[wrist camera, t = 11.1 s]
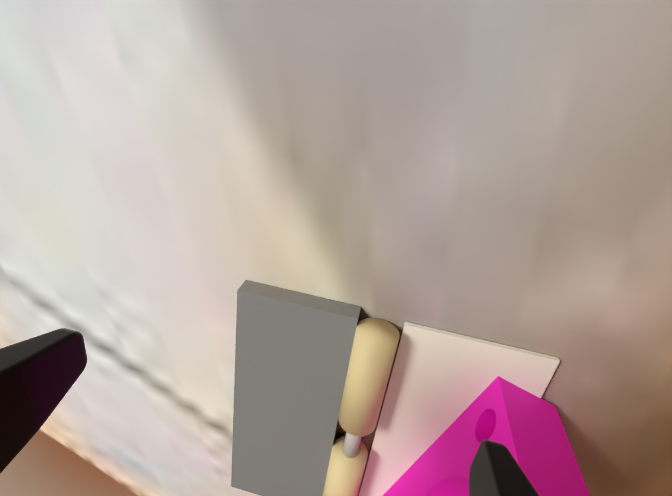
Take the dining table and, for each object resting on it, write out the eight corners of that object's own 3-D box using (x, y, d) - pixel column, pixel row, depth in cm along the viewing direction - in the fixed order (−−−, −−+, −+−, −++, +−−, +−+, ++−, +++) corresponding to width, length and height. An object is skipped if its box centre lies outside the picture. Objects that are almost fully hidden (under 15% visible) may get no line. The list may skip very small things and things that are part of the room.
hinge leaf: (402, 316, 22) (400, 343, 20) (352, 506, 30) (347, 539, 28) (246, 280, 23) (228, 301, 21) (237, 472, 31) (224, 501, 29)
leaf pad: (558, 357, 21) (559, 361, 21) (467, 537, 29) (467, 541, 29) (404, 321, 22) (404, 324, 22) (356, 504, 30) (355, 508, 30)
